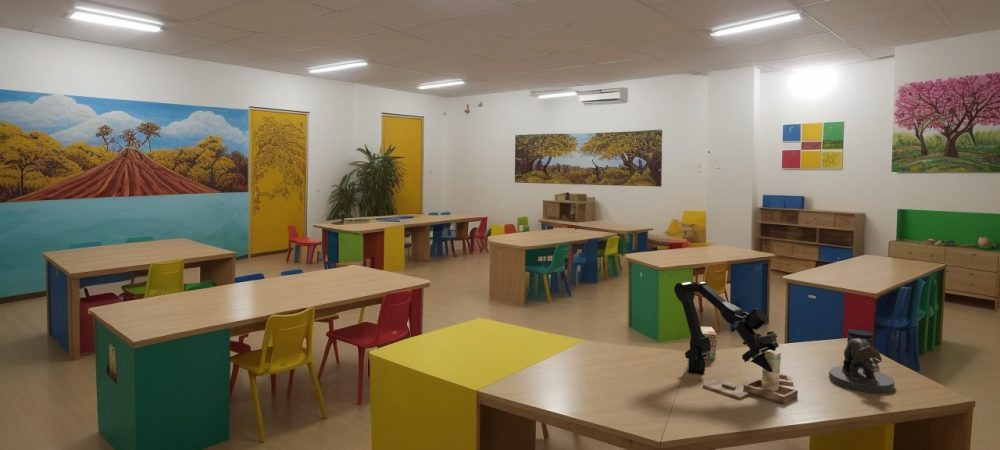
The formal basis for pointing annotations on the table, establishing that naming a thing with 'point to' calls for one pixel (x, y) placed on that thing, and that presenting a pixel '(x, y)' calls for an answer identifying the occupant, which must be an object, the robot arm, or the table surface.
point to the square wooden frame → (787, 382)
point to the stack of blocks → (712, 338)
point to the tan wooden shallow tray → (778, 396)
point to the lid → (727, 388)
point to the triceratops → (861, 369)
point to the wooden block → (772, 378)
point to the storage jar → (860, 336)
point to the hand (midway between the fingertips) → (774, 370)
